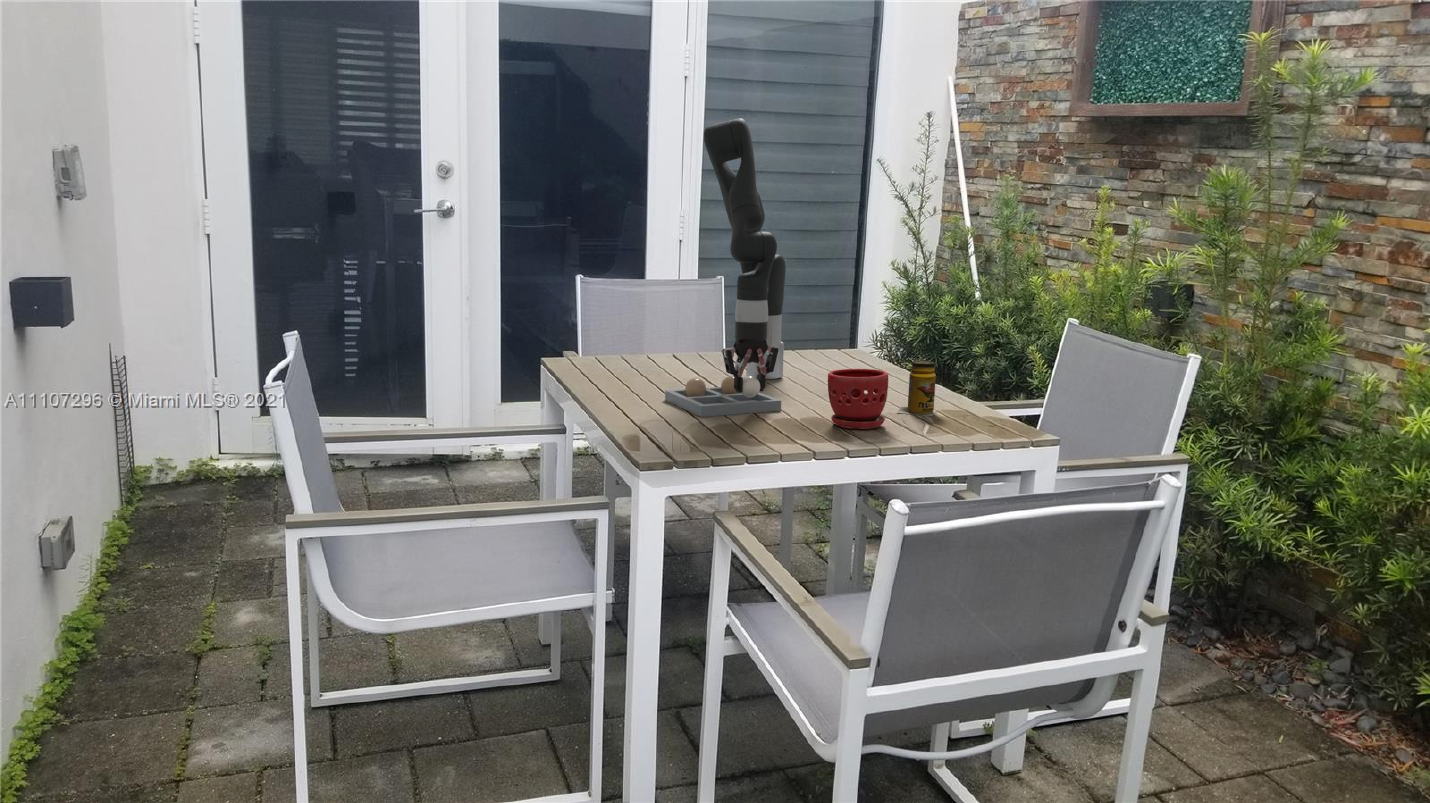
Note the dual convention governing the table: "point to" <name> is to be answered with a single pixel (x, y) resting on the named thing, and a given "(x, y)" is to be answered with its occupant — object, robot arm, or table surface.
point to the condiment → (921, 389)
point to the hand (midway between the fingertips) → (749, 391)
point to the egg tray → (722, 402)
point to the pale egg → (750, 386)
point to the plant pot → (858, 397)
